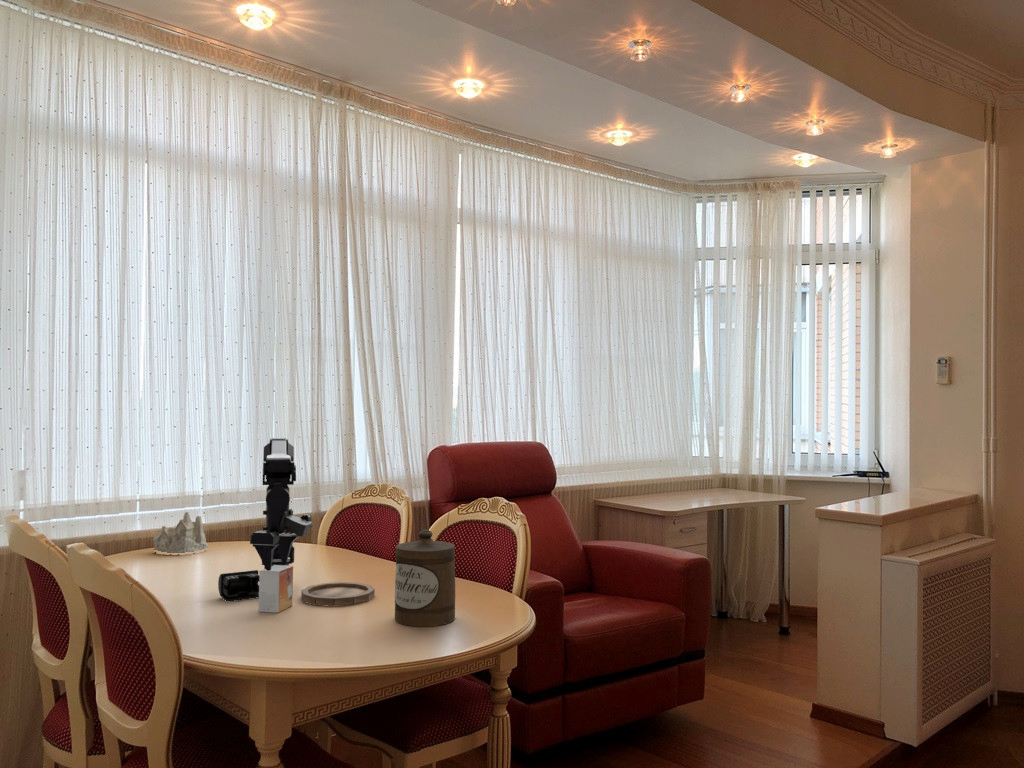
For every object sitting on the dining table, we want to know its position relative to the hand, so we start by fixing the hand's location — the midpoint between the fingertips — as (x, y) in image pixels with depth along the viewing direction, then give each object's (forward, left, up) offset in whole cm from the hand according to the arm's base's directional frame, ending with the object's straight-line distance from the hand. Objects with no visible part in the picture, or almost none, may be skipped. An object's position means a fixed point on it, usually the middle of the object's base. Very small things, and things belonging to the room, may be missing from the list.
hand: (276, 566), depth 209 cm
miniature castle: (-67, +68, -11) cm, 97 cm away
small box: (0, 0, -11) cm, 11 cm away
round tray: (+11, +15, -11) cm, 21 cm away
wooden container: (+40, -2, -11) cm, 42 cm away
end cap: (-15, +10, -11) cm, 21 cm away
